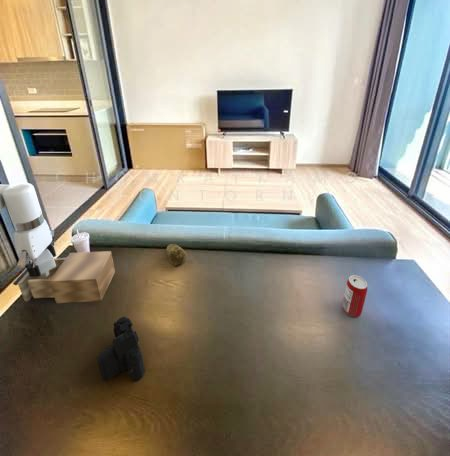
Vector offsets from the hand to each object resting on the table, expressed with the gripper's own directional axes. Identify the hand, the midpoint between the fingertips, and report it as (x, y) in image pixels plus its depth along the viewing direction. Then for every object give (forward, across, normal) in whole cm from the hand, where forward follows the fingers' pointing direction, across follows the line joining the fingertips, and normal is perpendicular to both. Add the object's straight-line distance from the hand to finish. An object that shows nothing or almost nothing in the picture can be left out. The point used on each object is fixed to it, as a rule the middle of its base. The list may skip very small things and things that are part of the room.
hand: (43, 265), depth 84 cm
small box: (+1, 0, 0) cm, 1 cm away
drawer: (+9, 0, 0) cm, 9 cm away
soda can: (+10, +14, +100) cm, 102 cm away
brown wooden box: (+10, 0, +12) cm, 16 cm away
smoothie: (+10, -15, +5) cm, 19 cm away
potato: (+10, -10, +42) cm, 45 cm away
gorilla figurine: (+10, +25, +32) cm, 42 cm away
